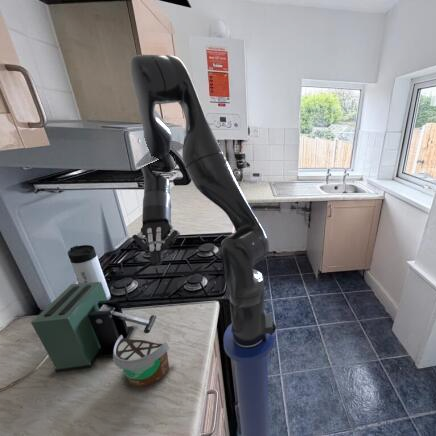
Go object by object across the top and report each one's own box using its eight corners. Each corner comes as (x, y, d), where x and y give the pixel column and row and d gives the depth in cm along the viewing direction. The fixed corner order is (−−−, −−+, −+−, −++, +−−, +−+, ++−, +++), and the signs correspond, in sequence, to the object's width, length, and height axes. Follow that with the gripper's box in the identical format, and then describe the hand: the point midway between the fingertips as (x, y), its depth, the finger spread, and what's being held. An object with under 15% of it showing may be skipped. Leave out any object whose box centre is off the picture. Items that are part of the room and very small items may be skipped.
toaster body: (117, 324, 70) (102, 280, 63) (90, 368, 57) (67, 318, 51) (89, 327, 68) (70, 282, 62) (55, 372, 56) (28, 322, 50)
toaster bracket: (134, 328, 68) (122, 293, 64) (118, 356, 60) (104, 319, 55) (115, 330, 68) (102, 295, 63) (97, 359, 59) (80, 322, 55)
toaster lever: (154, 320, 66) (157, 314, 66) (147, 335, 62) (151, 328, 61) (103, 307, 62) (106, 300, 61) (92, 321, 57) (95, 314, 57)
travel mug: (102, 291, 82) (84, 242, 75) (115, 296, 80) (98, 245, 73) (82, 303, 77) (60, 251, 69) (96, 308, 75) (75, 255, 67)
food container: (108, 388, 53) (95, 358, 49) (129, 363, 59) (119, 334, 55) (158, 397, 52) (148, 367, 48) (175, 370, 57) (167, 341, 53)
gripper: (126, 206, 67) (124, 266, 62) (175, 201, 69) (176, 259, 64) (139, 214, 74) (138, 269, 69) (183, 210, 76) (184, 263, 71)
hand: (156, 264), depth 67 cm, fingers closed
